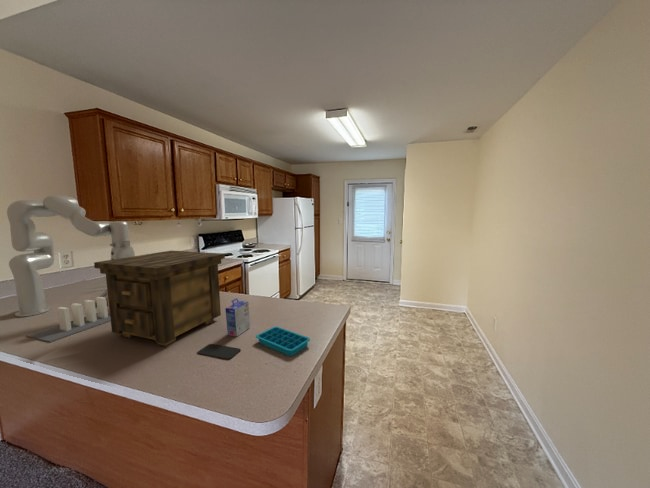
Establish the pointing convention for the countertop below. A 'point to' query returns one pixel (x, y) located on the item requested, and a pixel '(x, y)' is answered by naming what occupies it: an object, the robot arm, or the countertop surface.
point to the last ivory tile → (64, 318)
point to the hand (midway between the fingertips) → (125, 278)
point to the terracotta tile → (108, 304)
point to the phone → (219, 351)
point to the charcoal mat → (57, 333)
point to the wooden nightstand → (162, 293)
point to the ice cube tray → (283, 340)
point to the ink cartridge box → (237, 317)
